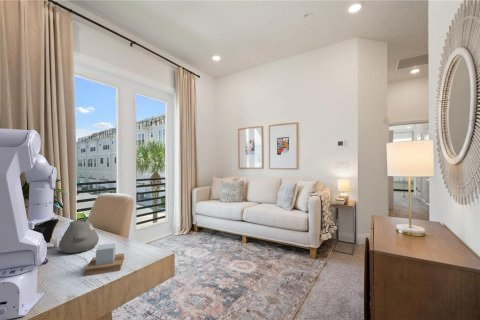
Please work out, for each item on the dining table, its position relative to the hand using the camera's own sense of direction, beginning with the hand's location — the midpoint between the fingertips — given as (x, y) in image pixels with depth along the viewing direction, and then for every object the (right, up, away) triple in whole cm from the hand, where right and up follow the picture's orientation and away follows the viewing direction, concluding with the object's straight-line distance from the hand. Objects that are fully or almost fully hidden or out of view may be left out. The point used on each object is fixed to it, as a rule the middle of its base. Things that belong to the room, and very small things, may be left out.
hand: (39, 246), depth 68 cm
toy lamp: (-8, -10, +9) cm, 16 cm away
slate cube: (+16, -8, +7) cm, 19 cm away
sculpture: (-21, -10, +23) cm, 32 cm away
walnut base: (+16, -10, +7) cm, 21 cm away
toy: (-5, -11, +23) cm, 26 cm away
